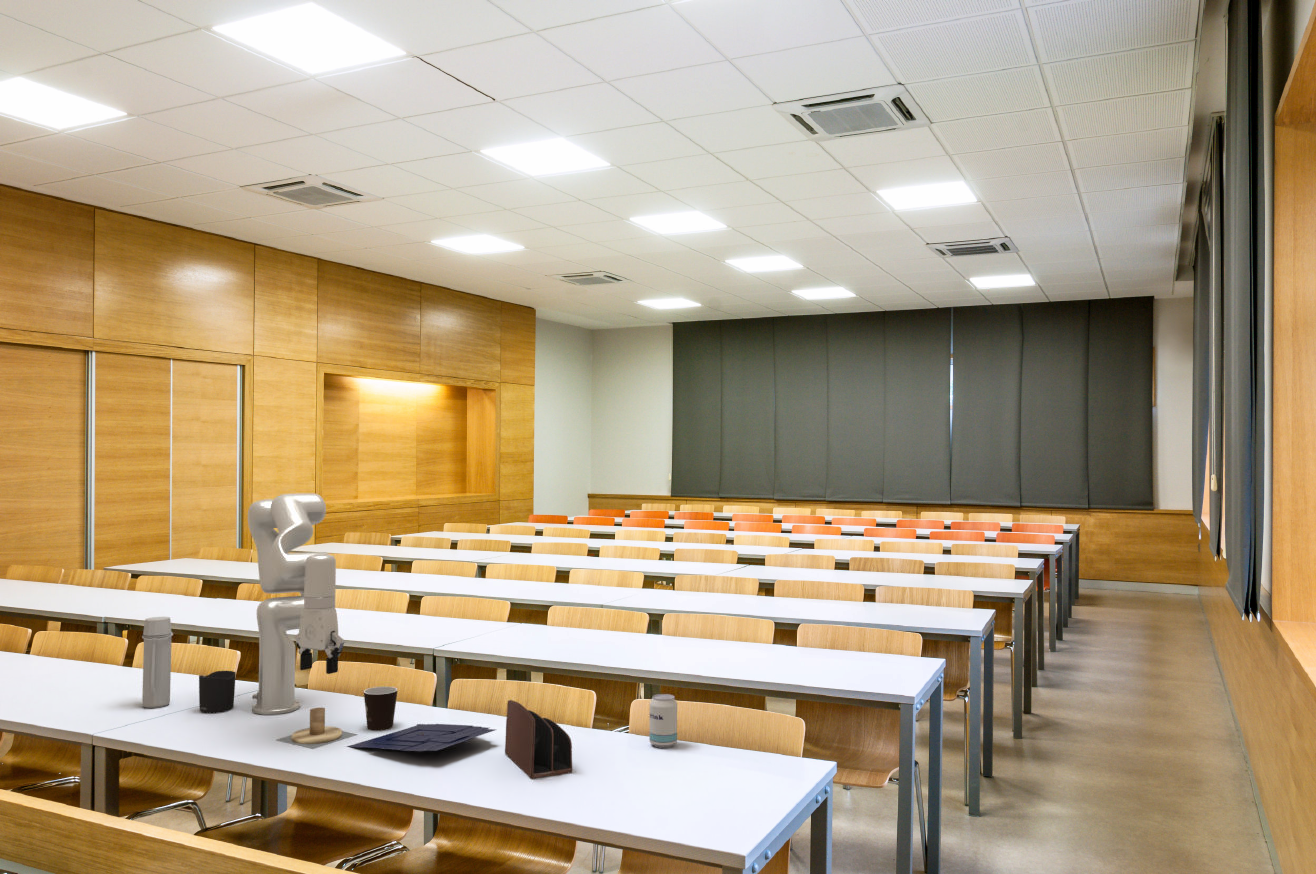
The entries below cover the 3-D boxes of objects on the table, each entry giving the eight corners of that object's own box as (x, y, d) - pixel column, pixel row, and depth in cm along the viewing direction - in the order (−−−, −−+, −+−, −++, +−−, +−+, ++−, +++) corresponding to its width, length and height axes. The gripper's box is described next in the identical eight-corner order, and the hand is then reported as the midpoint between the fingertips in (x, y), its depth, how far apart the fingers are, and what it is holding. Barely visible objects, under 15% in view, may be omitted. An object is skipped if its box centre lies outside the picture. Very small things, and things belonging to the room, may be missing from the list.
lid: (281, 739, 228) (281, 711, 228) (320, 728, 238) (320, 701, 238) (313, 746, 222) (314, 718, 222) (352, 734, 232) (352, 707, 232)
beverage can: (643, 745, 226) (644, 696, 227) (663, 739, 231) (663, 691, 232) (663, 751, 221) (663, 701, 222) (682, 745, 226) (682, 696, 227)
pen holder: (198, 707, 259) (199, 672, 259) (235, 704, 263) (235, 669, 263) (197, 715, 251) (198, 679, 251) (234, 712, 255) (235, 676, 255)
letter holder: (530, 780, 201) (531, 716, 201) (504, 754, 219) (505, 695, 219) (572, 773, 205) (573, 710, 206) (543, 749, 223) (544, 691, 223)
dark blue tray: (430, 765, 206) (429, 748, 207) (345, 758, 222) (344, 742, 223) (503, 738, 227) (502, 724, 227) (420, 734, 243) (419, 720, 243)
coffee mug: (391, 733, 235) (391, 694, 235) (358, 733, 235) (358, 694, 235) (404, 721, 246) (405, 684, 247) (373, 720, 247) (373, 683, 247)
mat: (275, 741, 227) (275, 739, 227) (320, 727, 239) (320, 726, 239) (312, 750, 220) (312, 748, 220) (357, 736, 232) (357, 734, 232)
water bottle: (143, 703, 263) (146, 617, 264) (173, 701, 265) (176, 615, 266) (135, 711, 254) (138, 622, 255) (167, 709, 257) (169, 621, 257)
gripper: (284, 603, 232) (283, 670, 231) (331, 607, 223) (330, 677, 223) (309, 599, 239) (308, 665, 238) (355, 603, 230) (354, 671, 229)
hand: (318, 671), depth 230 cm, fingers open, 9 cm apart
